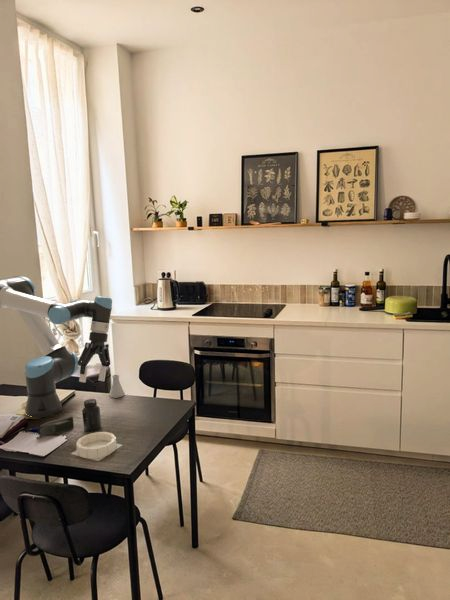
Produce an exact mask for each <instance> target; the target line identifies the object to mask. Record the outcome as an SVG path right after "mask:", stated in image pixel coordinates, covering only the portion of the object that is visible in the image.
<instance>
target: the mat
mask: <svg viewBox="0 0 450 600" xmlns="http://www.w3.org/2000/svg"><path fill="white" fill-rule="evenodd" d="M122 446H123V444H121V443H118V442H116V449H115V451H116V450H117V449H119V448H121V447H122ZM70 455H73V456H77V457H80V456H79V455H78V453H77V449H76V450H74V451H72V452H71V453H70ZM105 457H107V456H103V457H100V458H90V459H89V460H92V461H97V462H100V461H101V460H103V459H104V458H105Z"/></svg>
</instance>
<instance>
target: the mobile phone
mask: <svg viewBox="0 0 450 600" xmlns="http://www.w3.org/2000/svg"><path fill="white" fill-rule="evenodd" d="M74 426H75V425H74V418H73V416H68V417H64V418H59V419H56V420H51V421H46V422H44V423H42V424H41V425H40V424H39V426H38V434H39V436H38V437H36V440H40V439H41V438H45V437H48V436H51V435H55V434H59V433H63V432H66V431H70V430H72V429H73V428H74Z"/></svg>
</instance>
